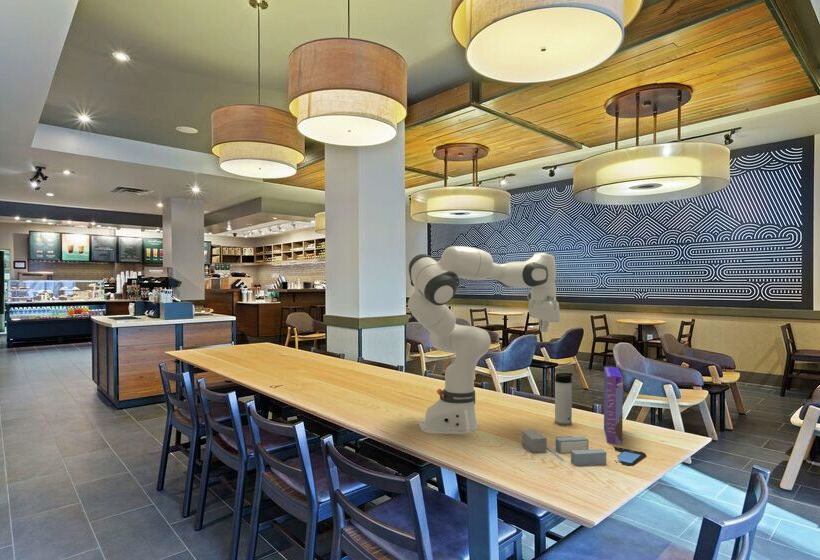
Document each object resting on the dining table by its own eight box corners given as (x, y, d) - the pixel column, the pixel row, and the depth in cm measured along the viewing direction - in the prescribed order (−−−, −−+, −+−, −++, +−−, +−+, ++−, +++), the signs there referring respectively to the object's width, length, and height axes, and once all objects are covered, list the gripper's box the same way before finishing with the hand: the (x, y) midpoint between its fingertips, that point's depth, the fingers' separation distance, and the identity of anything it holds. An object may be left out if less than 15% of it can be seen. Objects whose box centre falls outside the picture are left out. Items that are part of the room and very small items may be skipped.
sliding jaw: (559, 456, 144) (559, 441, 143) (550, 447, 151) (550, 433, 150) (588, 454, 145) (588, 439, 145) (577, 446, 152) (577, 431, 152)
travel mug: (573, 426, 172) (573, 375, 171) (555, 425, 173) (556, 374, 173) (571, 421, 178) (571, 371, 177) (554, 420, 179) (554, 371, 179)
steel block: (532, 457, 143) (532, 439, 143) (521, 447, 151) (521, 430, 151) (546, 456, 144) (546, 438, 144) (535, 446, 152) (535, 429, 152)
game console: (608, 448, 151) (608, 442, 151) (648, 460, 142) (648, 453, 142) (589, 461, 141) (589, 454, 141) (631, 474, 132) (631, 466, 132)
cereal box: (622, 446, 152) (622, 376, 151) (607, 444, 153) (607, 375, 153) (617, 429, 168) (617, 366, 168) (603, 428, 170) (604, 365, 169)
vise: (567, 471, 133) (567, 454, 133) (547, 452, 147) (547, 437, 147) (606, 468, 135) (606, 452, 135) (582, 450, 149) (582, 435, 149)
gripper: (564, 296, 159) (564, 335, 160) (540, 294, 180) (540, 328, 180) (547, 297, 159) (547, 335, 159) (525, 294, 179) (525, 328, 179)
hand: (543, 331), depth 169 cm, fingers closed
